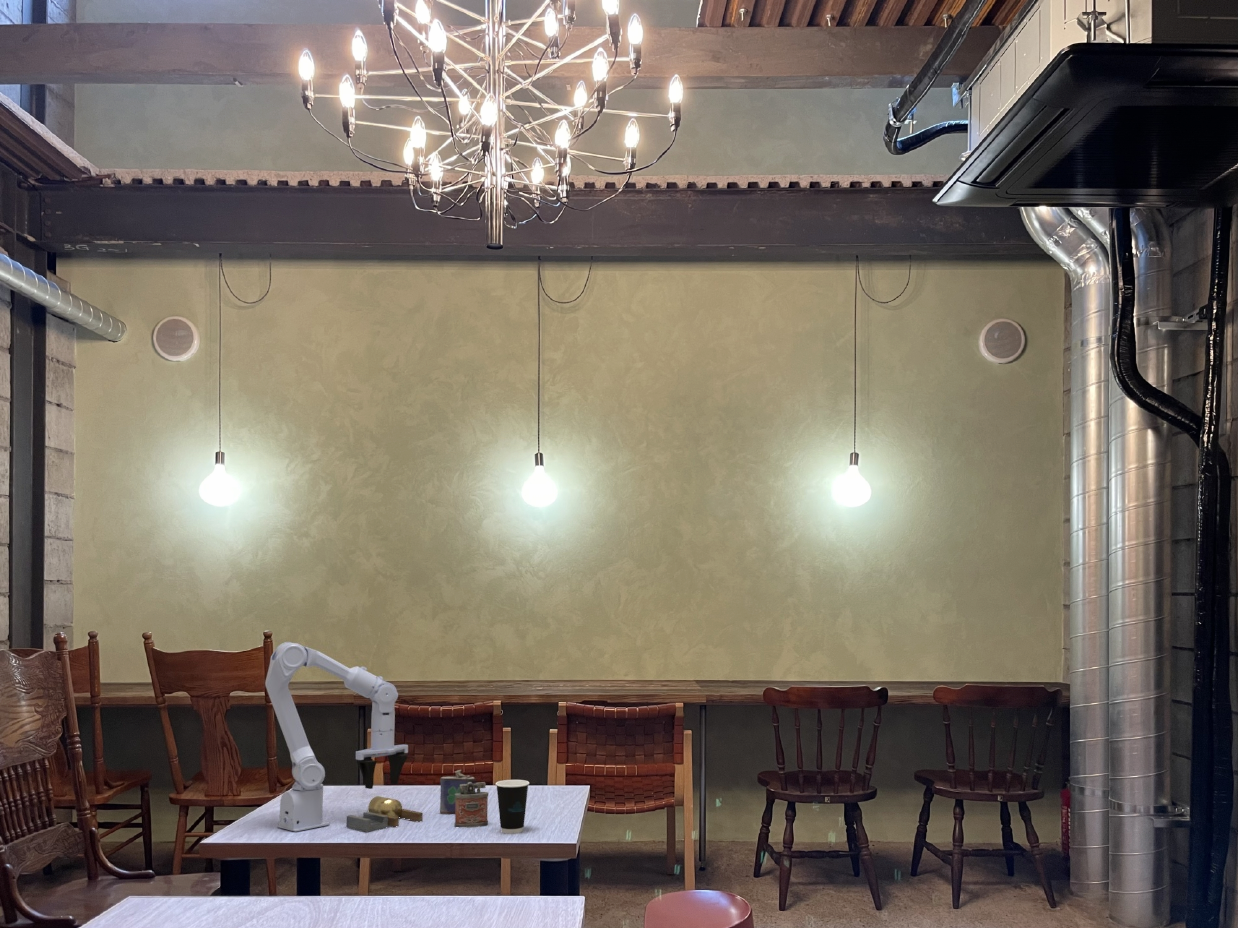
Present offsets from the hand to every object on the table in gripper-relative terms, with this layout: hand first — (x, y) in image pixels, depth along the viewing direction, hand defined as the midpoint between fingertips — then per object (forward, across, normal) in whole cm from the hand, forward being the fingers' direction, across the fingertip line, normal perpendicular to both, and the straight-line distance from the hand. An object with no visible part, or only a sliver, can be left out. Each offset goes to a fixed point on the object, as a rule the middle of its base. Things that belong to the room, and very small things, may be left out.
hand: (381, 785), depth 251 cm
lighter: (+8, +8, -24) cm, 27 cm away
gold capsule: (+8, 0, -1) cm, 8 cm away
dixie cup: (+8, +10, -36) cm, 38 cm away
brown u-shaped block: (+8, 0, -7) cm, 10 cm away
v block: (+8, -8, -6) cm, 13 cm away
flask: (+8, +16, -11) cm, 21 cm away
